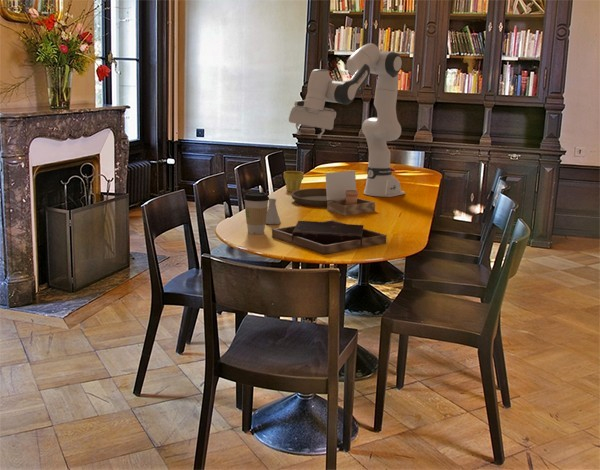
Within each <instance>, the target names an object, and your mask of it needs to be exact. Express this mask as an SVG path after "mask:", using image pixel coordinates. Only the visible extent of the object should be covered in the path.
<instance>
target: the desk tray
mask: <svg viewBox="0 0 600 470" xmlns="http://www.w3.org/2000/svg"><path fill="white" fill-rule="evenodd" d="M322 222H324V223H332V224H346V222H345V223H344V222H340V221H337V220H334V219H330V220H324V221H322ZM295 226H296V225H290V226H283V227H277V228H272V229H271V238H274V239H277V240H280V241H282V242H286V243H289V244H292V245H294V246H297V247H300V248H304V249H307V250H310V251H312V252H314V253H317V254H321V255H325V256H326V255H330V254H334V253H341V252H345V251H351V250H356V249H363V248H367V247H373V246H378V245H383V244H386V243H387V236H388V235H387V234H383V233H380V232H376V231H373V230H370V229H366V228H363V234H362V235H363V239H362V247H361V244H360V243H361V240H351V241H346V242H340V243H335V244H329V245H328V244H320V243H317V242H314V241H310V240H307V239H304V238H301V237H298V236H293V242H292V232H293V230H294V228H295Z"/></svg>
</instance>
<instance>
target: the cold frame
mask: <svg viewBox="0 0 600 470" xmlns="http://www.w3.org/2000/svg"><path fill="white" fill-rule="evenodd" d="M326 210H327V212H329V213H332V214H333V213H334V214H338V215H341V216H352V215H359V214H366V213H367V214H368V213H373V212H376V201H371V200H367V199H362V198H360V197H359V198H358V197H357V204H354V205H347V206H346V199H345V200H337V201H332V200H330V201H329V202H327V207H326Z"/></svg>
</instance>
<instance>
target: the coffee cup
mask: <svg viewBox="0 0 600 470" xmlns="http://www.w3.org/2000/svg"><path fill="white" fill-rule="evenodd" d="M269 199H270V197H269V195H268V193H267V192H263V191H262V192H261V191H249V192H246V193H245V194H244V196H243V199H242V200H244V211H245V212H244V213H245V220H246V228H247V234H249V235H262V234H264V233H265V228H266V227H265V226H266V225H267V224H266V216H267V211H268V207H269Z"/></svg>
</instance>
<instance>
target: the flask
mask: <svg viewBox="0 0 600 470" xmlns="http://www.w3.org/2000/svg"><path fill="white" fill-rule="evenodd" d="M276 202H277V199H276V198H269V200H268V209H267V216H266V224H265V225H271V226H272V225H280V224H281V223H282V222H281V219H280V216H279V212H278V209H277V205H276Z"/></svg>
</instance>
